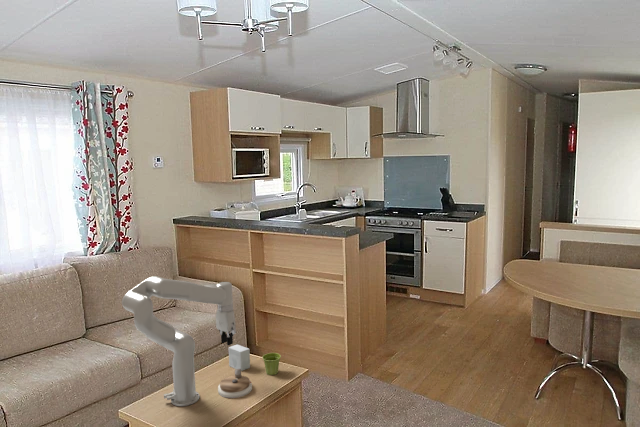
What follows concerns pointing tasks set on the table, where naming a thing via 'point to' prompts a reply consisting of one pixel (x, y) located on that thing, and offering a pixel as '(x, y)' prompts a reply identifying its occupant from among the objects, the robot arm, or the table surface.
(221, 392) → the stand
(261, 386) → the table surface
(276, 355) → the plant pot
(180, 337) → the robot arm
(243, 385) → the dial
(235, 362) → the skincare box
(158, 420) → the table surface
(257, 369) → the table surface
